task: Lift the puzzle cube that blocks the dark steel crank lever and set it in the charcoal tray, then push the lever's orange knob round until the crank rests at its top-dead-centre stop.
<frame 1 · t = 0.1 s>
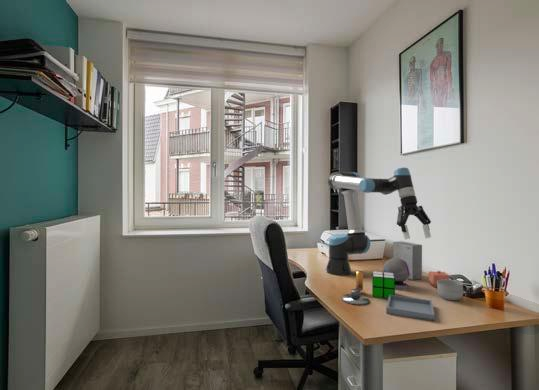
hand: (418, 238, 149), 28 cm above the table, tool tilted 20°, fingers open, 13 cm apart
pink cube teapot: (439, 287, 162), on the table
tray: (409, 309, 130), on the table
hard drive box: (406, 276, 181), on the table
puzzle cube: (383, 295, 149), on the table
crank base: (355, 300, 141), on the table
webcam: (395, 286, 163), on the table
crank lever: (357, 283, 146), point 6 cm above the table, hinge at 0.0°
teacup: (451, 298, 145), on the table
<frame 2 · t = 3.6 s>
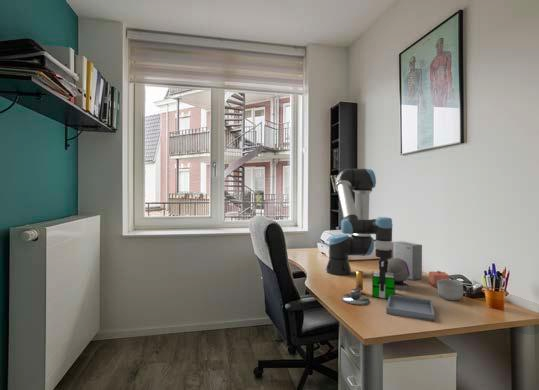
hand: (383, 293, 149), 0 cm above the table, tool pointing down, fingers closed on puzzle cube, 10 cm apart
puzzle cube: (383, 295, 149), on the table, touching gripper
everything else where it was.
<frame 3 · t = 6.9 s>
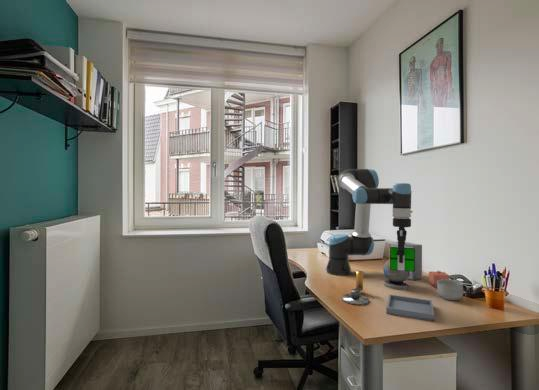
hand: (401, 267, 135), 17 cm above the table, tool pointing down, fingers closed on puzzle cube, 10 cm apart
puzzle cube: (401, 268, 135), point 16 cm above the table, touching gripper
everything else where it was.
when the fingers open (3 cm above the table, at t = 10.3 s): puzzle cube drops 2 cm, resting on tray.
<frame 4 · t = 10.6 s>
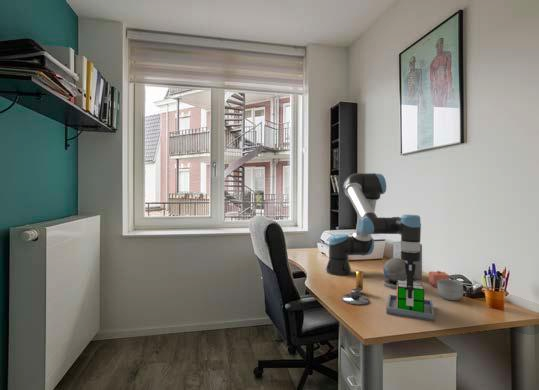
hand: (409, 300, 130), 4 cm above the table, tool pointing down, fingers open, 13 cm apart
puzzle cube: (409, 308, 130), point 1 cm above the table, touching tray
everything else where it was.
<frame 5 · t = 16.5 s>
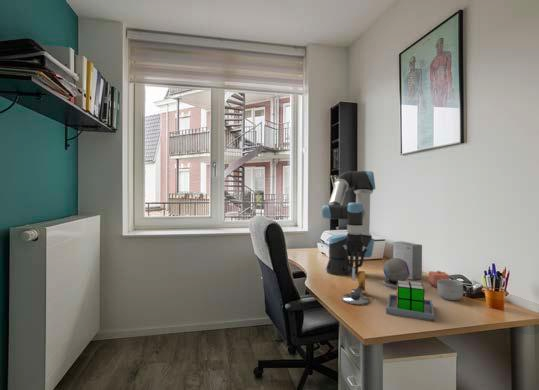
hand: (353, 279, 152), 6 cm above the table, tool pointing down, fingers closed
crank lever: (358, 284, 146), point 6 cm above the table, hinge at -5.2°, touching gripper
everything else where it was.
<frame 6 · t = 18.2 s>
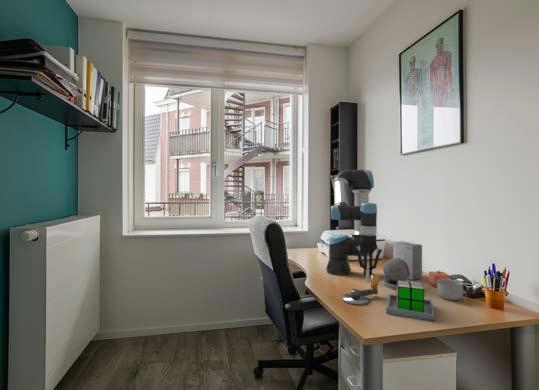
hand: (367, 282, 149), 6 cm above the table, tool pointing down, fingers closed
crank lever: (364, 285, 143), point 6 cm above the table, hinge at -37.6°, touching gripper
everything else where it was.
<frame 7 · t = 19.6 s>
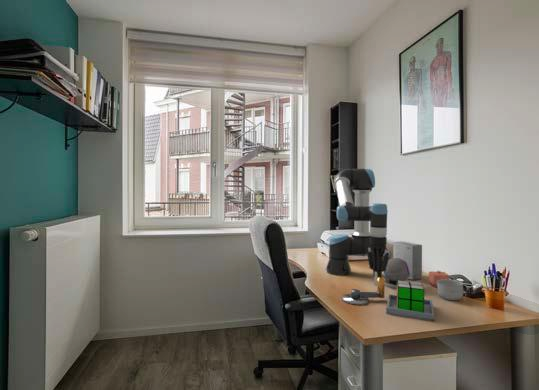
hand: (377, 284, 145), 6 cm above the table, tool pointing down, fingers closed
crank lever: (367, 287, 141), point 6 cm above the table, hinge at -63.3°, touching gripper
everything else where it was.
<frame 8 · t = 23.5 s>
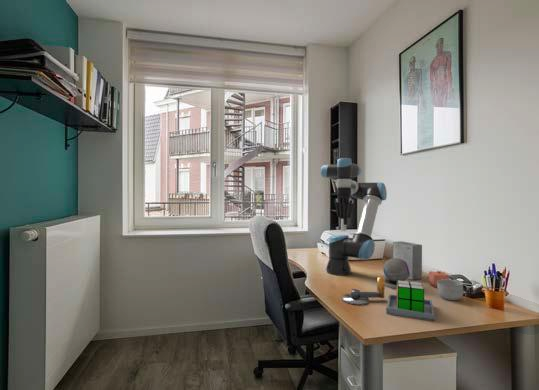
hand: (343, 230, 164), 29 cm above the table, tool pointing down, fingers closed
crank lever: (367, 287, 141), point 6 cm above the table, hinge at -62.6°
everything else where it was.
at the end: puzzle cube inside the target area on the tray (0.1 cm from its centre), point 0.6 cm above the tray's base; crank lever at -63° (first picture: +0°); puzzle cube tilted 0° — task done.
